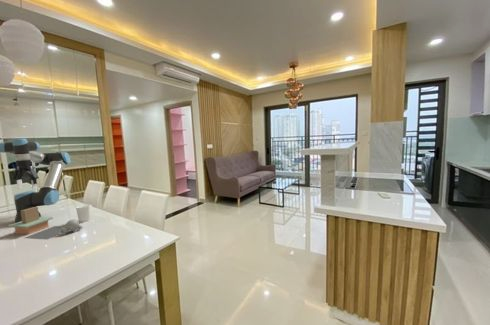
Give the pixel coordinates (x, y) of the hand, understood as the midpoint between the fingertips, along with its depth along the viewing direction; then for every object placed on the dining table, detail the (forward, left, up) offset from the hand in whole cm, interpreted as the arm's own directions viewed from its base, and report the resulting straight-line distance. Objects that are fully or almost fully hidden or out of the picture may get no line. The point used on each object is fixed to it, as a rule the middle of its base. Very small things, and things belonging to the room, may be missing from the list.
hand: (27, 188), depth 158 cm
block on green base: (+8, +11, -23) cm, 26 cm away
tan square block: (+8, +11, -29) cm, 32 cm away
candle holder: (-12, +34, -29) cm, 46 cm away
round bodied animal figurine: (+9, +44, -29) cm, 54 cm away
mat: (+10, +30, -29) cm, 43 cm away
